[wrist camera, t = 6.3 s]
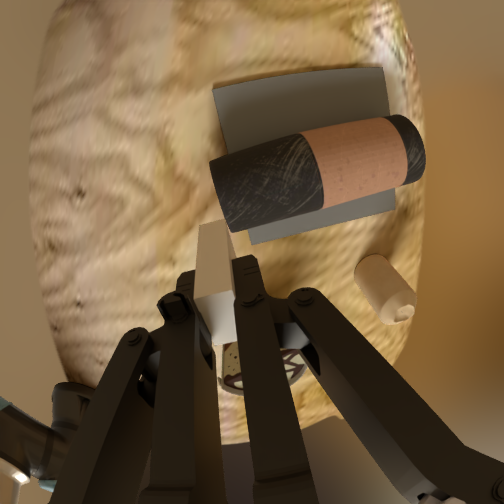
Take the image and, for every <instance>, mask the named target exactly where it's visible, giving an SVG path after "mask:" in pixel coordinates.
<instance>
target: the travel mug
mask: <svg viewBox="0 0 504 504" xmlns="http://www.w3.org/2000/svg"><path fill="white" fill-rule="evenodd" d="M425 164H426V155H425V149H424V145H423V141H422V138H421V136H420V134H419V132H418V130H417V128H416V127H415V126H414V124H413V123H412V122H411V121H410V120H409V119H407V118H406V117H404V116H402V115H397V114H396V115H392V116H385V117H378V118H371V119H365V120H359V121H353V122H348V123H342V124H337V125H332V126H327V127H322V128H317V129H313V130H308V131H304V132H299V133H296V134H292V135H288V136H285V137H281V138H278V139H275V140H271V141H268V142H265V143H261V144H258V145H255V146H252V147H249V148H246V149H243V150H240V151H237V152H234V153H231V154H228V155H225V156H222V157H219V158H217V159H214V160H212V161H210V162H209V165H210V171H211V175H212V179H213V183H214V186H215V190H216V193H217V196H218V199H219V203H220V206H221V209H222V211H223V214H224V217H225V220H226V222H227V225H228V227H229V229H230V231H231V232H232V233H234V232H238V231H242V230H246V229H250V228H254V227H257V226H261V225H265V224H268V223H272V222H276V221H279V220H283V219H287V218H291V217H294V216H298V215H302V214H306V213H310V212H314V211H317V210H320V209H324V208H328V207H331V206H334V205H338V204H341V203H344V202H348V201H351V200H354V199H358V198H361V197H365V196H368V195H371V194H375V193H378V192H382V191H385V190H388V189H392V188H395V187H399V186H402V185H406V184H409V183H413V182H416V181H417V180H419V179H420V178H421V177H422V175H423V173H424V170H425Z"/></svg>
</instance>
